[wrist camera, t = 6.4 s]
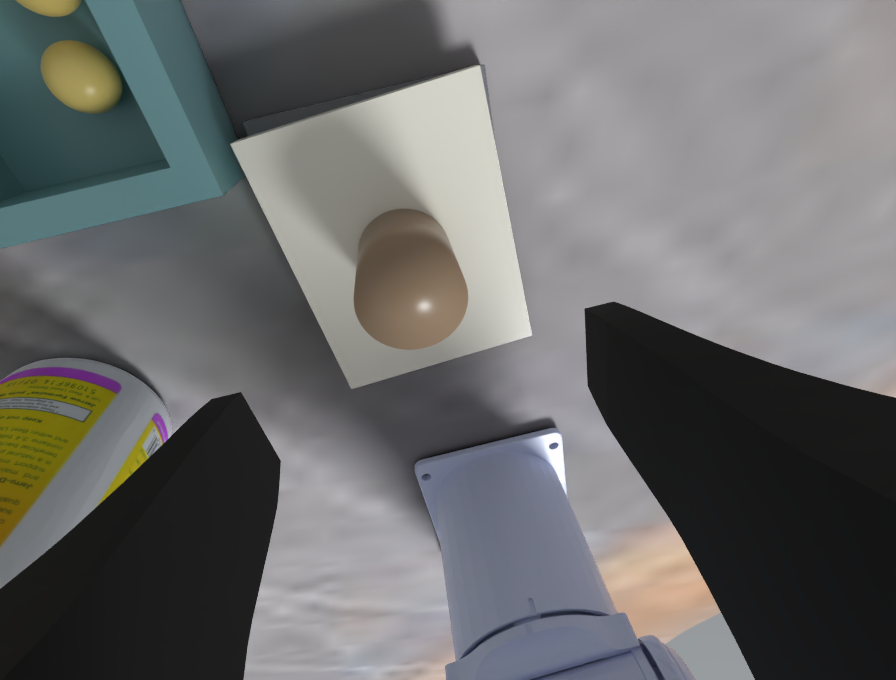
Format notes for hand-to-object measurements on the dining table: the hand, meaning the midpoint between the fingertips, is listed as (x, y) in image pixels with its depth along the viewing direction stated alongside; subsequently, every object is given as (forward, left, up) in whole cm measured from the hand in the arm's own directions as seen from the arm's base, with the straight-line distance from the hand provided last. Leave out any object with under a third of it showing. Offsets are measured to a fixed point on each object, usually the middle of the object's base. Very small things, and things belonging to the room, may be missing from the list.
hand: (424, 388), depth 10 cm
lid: (0, 0, -8) cm, 8 cm away
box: (+9, +9, -10) cm, 16 cm away
